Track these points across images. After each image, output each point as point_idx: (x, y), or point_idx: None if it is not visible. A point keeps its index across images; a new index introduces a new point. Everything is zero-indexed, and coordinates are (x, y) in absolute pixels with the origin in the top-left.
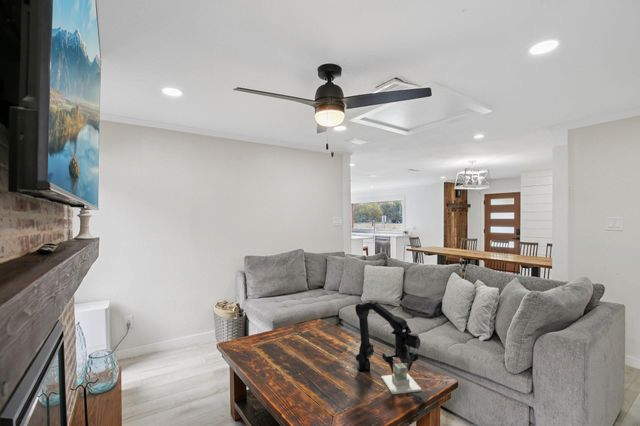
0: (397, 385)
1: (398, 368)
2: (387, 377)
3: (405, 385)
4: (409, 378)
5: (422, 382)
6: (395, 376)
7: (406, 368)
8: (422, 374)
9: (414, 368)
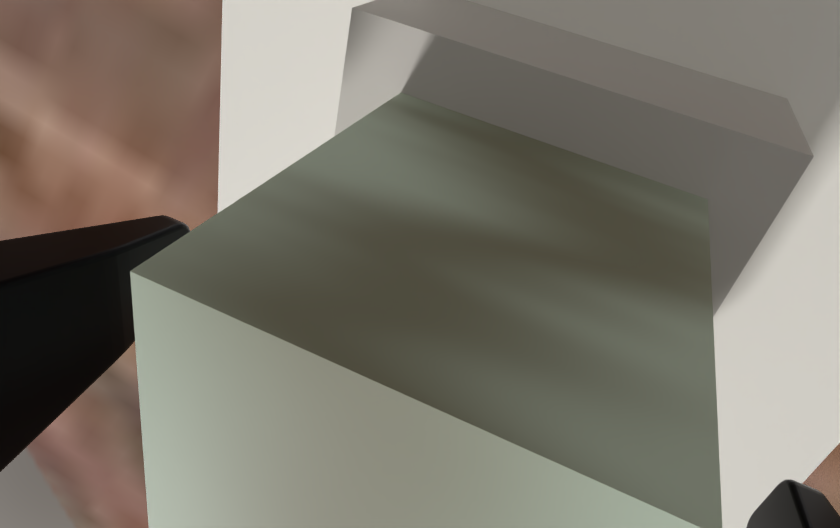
0: (774, 103)
1: (671, 511)
2: None
3: (529, 19)
4: None
5: (102, 15)
6: None
7: (176, 252)
8: (27, 208)
9: None
